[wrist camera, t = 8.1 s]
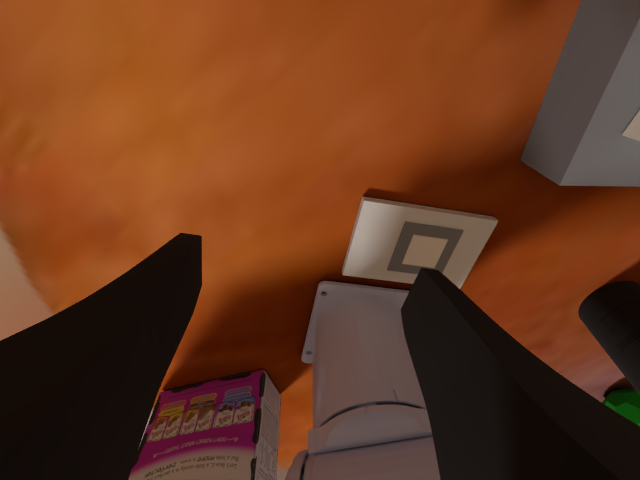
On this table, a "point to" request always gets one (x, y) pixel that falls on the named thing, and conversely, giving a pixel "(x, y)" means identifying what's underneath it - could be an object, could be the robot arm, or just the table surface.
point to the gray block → (592, 101)
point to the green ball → (625, 403)
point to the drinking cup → (616, 325)
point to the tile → (414, 241)
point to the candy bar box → (213, 432)
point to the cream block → (633, 128)
